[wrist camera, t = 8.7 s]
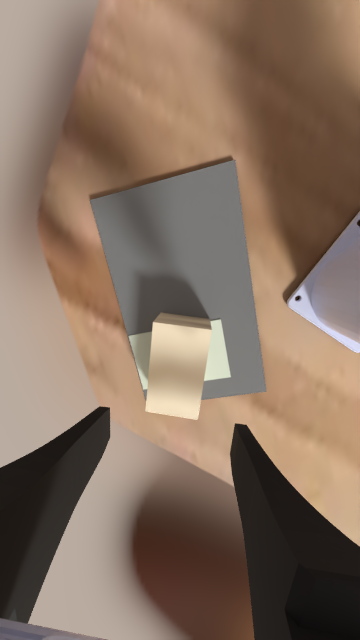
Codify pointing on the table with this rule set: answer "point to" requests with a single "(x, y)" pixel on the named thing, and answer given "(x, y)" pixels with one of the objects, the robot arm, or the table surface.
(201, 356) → the beige wooden block
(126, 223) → the mat
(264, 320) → the table surface
